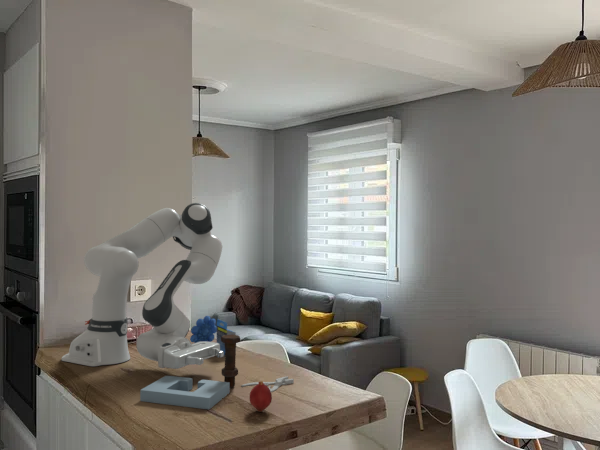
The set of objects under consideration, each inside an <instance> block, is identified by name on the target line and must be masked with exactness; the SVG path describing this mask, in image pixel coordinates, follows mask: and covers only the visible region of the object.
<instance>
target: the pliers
mask: <svg viewBox="0 0 600 450" xmlns="http://www.w3.org/2000/svg"><path fill="white" fill-rule="evenodd" d="M294 381H295V380H294V378H289V376H287V375H286V376H283V377H278V378H276V379H275V381H263V383H264V384H265V385H266V386H267V387H268V388H269V389H270V391H271V393H273V392H275V391H277V390H278V389H279V387H281V386H287V385H290V384H294ZM259 382H260V381H256V382H254V381H253V382H248V383H244V384H241V385H240V387H241V388H243V387H248V386H249V387H250V386H256V385H258V384H259ZM271 385H273V387H272V386H271ZM271 387H272V388H271Z"/></svg>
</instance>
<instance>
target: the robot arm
mask: <svg viewBox="0 0 600 450" xmlns="http://www.w3.org/2000/svg"><path fill="white" fill-rule="evenodd" d="M213 228H214V227H213V223H212V215H211V211H210V209H209V208H208V207H207V206H206V205H205V204H202V203H200V202H192V203H190V204H188V205H187V206H185V208H184V210H183V211H182V214H179V213H178V212H177V211H176V210H174V209H173V208H172V207H171V208H170V207H164V208H161V209H159V210H156V211H154V212H152V214H149V215H148V216H146V217H144V218H143V219H142V220H141V221H139V222H138V223H136V224H135V225H133V226H132V227H131V228H128V229H127V230H126V231H123V232H122V233H120V234H119V233H118V235H115V236H113V237H111V238H109V239H108V240H106V241H104V242H102V243H101V244H98V245H96V246H93V247H91V248H89V249H88V250H87V251H86V253H85V254H84V257H83V258H84V259H83V263H84V266H85V268H86V270H88V271H89V272H90V273H91V274H93V275H95V276H97V277H99V282H98V285H97V288H96V290H95V292H94V294H93V296H92V309H91V311H92V312H91V313H92V314H91V317H92V318H90V319H89V320H85V321H84V322H85V323H84V325H87V329H85V331H83V332H82V333H81V334H80V335H78V336H77V337H75V338H74V339H72V341H71V343H70V346H69V349H68V353H66V354H64V355H63V356H62V357H61V362H68V363H72V364H76V365H77V364H78V365H83V366H88V367H98V366H107V365H115V364H121V363H124V362H127V361H129V360H131V355H130V353H129V347H128V346H129V345H128V337H127V336H128V335H127V334H128V317H127V303H128V292H129V290H130V286H131V282H132V279H133V277H134V275H136V273H137V272H138V270H139V263H140V262H139V259H140V258H143V257H146V256H148V255H149V254H150V253H152V252H153V251H155V250H156V249H157V248H158V247H160V246H161V245H162V244H164V243H165V242H167V241H168V240H169V239H170V238H172V239H173V241H174V242H175V243H178V244H179V245H180V246H181V247H182V248H184V249H185V250H189V253H188V255H187V257H186V258H185V259H182V260H180V261H177V262H176V264H175V265H173V267H172V268H171V269H170V270H169V272H168V273H167V275H166V276H165V278H163V280H162V281H161V283H160V284H159V286H158V288H157V289H156V290H155V291H154V292H153V294H151V295H150V296H149V297H148V298H147V299H146V301H145V302H144V304H143V307H142V312H141V313H142V314H141V315H142V319H143V320H144V321H146V323H148V324H149V325H150V326H152V327H153V328H151V329H150V330H148V331H145V332H142V333H141V334H139V335H138V337H137V339H136V350H137V352H138V353H139V355H140V356H141V357H143V358H145V359H147V360H150V361H154V362H157V364H158V368H161V369H165V368H166V369H173V370H174V369H181V368H184V367H186V366H189V365H196V366H200V365H203V364H204V363H205V362H204V360H207V359H209V358H213V357H215V356H216V358H219V359H220V358H223V357H225V355H224V352H223V351H220V344H219V343H217V341H216V342H215V341H211V342H209V341H208V342H207V341H201V342H197V343H194V342H193V343H192V342H191V341H190V339H188V338H187V335H188V334H189V332H190V330H191V329H190V328H191V321H190V319H189V318H188V317H187V315H186V314H184V312H183V311H182V310H181V309H180V308H179V307H178V306H177V305H176V304H175V302H174V296H175V294H176V292H178V290H179V289H180V287H181V286H182V284H183V283H184V282H186V283H189V284H193V285H194V284H195V285H201V284H206V283H207V282H210V280H211V279H212V277H213V276H214V274H215V271H216V270H217V267H218V265H219V262H220V260H221V256H222V252H223V251H222V250H223V244H222V241H221V240H220V239H219V238H218V237H217V236H215V235H214V234H212V233H211V231H212V230H213Z"/></svg>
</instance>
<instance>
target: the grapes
mask: <svg viewBox="0 0 600 450" xmlns="http://www.w3.org/2000/svg"><path fill="white" fill-rule="evenodd" d="M190 333H191V336H189V337H190V338H189V341H190V343H193V344H194V343H197V342H201V341H207V342H214V340H215V334H217V320H216V318H211V316H210V315H205V316H204V317H203V318H198V319H197V320H196V322H195V325H193V326H192V327H191V329H190Z"/></svg>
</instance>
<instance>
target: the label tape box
mask: <svg viewBox="0 0 600 450" xmlns="http://www.w3.org/2000/svg"><path fill="white" fill-rule="evenodd" d="M216 319H217V320H216V326H217V332H216V343H219V344H220V351H223V352H224V356H225V343H223V342H222V341H221V337H222V336H223V335H232V334H233V335H237V334H236V332H235V331H233V330H230V329H228V322H227V321H224V320H223V319H222V320H221V319H220V318H216ZM235 355H237V353H236V354H235Z"/></svg>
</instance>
